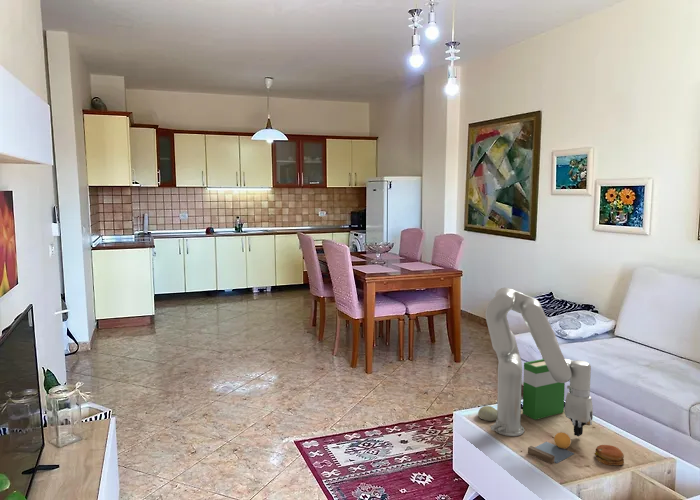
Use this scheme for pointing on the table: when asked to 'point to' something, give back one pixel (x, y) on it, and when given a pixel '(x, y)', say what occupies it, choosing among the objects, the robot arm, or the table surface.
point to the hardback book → (541, 391)
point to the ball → (562, 440)
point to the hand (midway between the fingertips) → (578, 434)
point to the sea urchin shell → (488, 413)
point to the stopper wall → (541, 454)
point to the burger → (609, 455)
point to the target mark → (555, 451)
